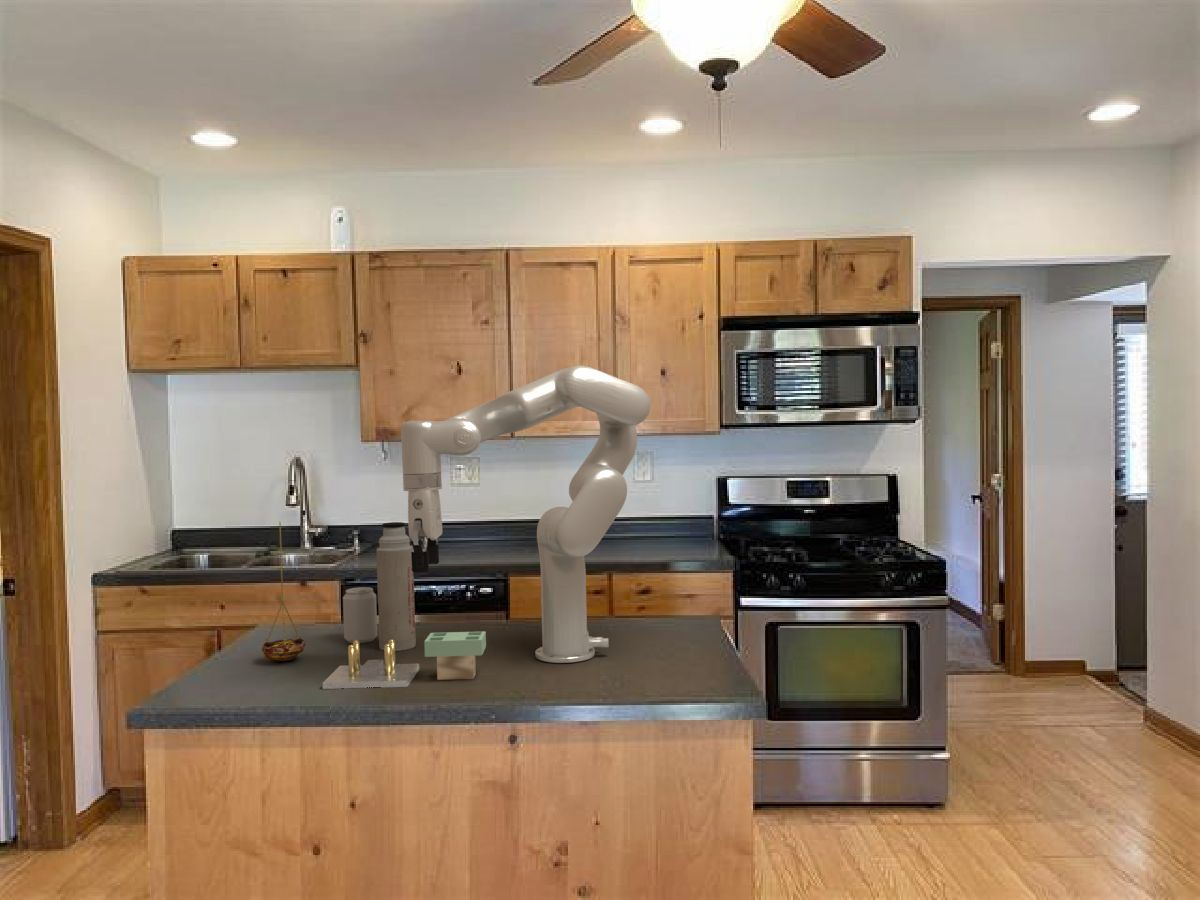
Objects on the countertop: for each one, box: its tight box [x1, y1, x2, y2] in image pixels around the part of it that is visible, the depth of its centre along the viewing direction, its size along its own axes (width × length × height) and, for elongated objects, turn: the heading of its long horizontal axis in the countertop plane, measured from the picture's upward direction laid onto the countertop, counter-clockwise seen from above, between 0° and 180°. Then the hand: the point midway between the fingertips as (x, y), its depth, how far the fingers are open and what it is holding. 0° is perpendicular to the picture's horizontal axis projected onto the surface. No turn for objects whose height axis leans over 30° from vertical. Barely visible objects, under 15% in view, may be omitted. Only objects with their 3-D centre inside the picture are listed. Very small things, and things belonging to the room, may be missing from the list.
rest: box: [436, 656, 477, 681], centre depth 175 cm, size 7×4×5 cm, turn 91°
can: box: [342, 586, 378, 644], centre depth 207 cm, size 8×8×12 cm
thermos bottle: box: [376, 521, 416, 652], centre depth 200 cm, size 8×8×28 cm
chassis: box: [322, 639, 420, 690], centre depth 175 cm, size 16×12×7 cm
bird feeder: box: [261, 521, 307, 663], centre depth 190 cm, size 9×9×30 cm
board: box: [423, 630, 487, 658], centre depth 175 cm, size 11×7×3 cm, turn 91°
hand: (426, 567), depth 178 cm, fingers open, 9 cm apart
